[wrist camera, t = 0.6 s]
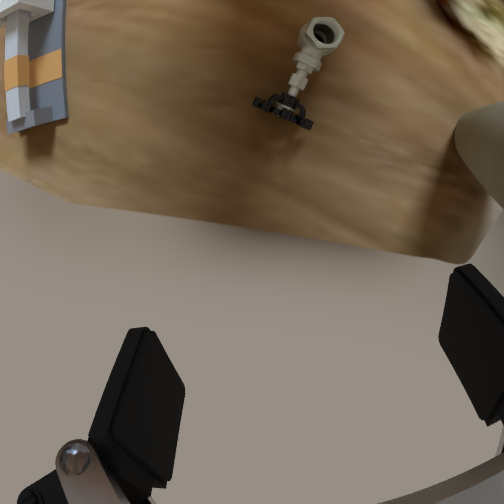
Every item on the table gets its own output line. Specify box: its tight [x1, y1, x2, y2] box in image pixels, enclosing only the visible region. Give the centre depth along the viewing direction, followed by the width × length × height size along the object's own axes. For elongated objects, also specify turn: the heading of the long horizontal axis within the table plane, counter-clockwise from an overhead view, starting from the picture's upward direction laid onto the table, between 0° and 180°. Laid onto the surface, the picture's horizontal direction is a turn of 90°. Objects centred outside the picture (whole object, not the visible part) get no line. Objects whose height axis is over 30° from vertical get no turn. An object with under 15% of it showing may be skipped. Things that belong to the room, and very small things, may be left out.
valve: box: [252, 17, 345, 130], centre depth 28 cm, size 7×7×12 cm
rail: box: [4, 0, 68, 134], centre depth 24 cm, size 23×9×6 cm, turn 2°
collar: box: [0, 0, 54, 27], centre depth 20 cm, size 4×7×8 cm, turn 92°
